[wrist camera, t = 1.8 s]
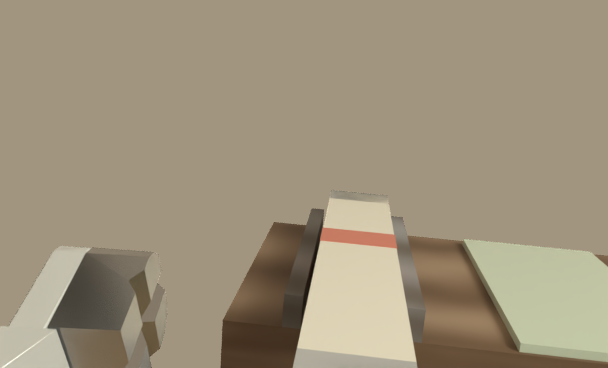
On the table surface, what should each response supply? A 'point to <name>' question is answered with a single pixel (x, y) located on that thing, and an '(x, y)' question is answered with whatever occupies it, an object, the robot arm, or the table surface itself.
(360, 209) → the red-banded cream beam
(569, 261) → the plate
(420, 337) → the cabinet
